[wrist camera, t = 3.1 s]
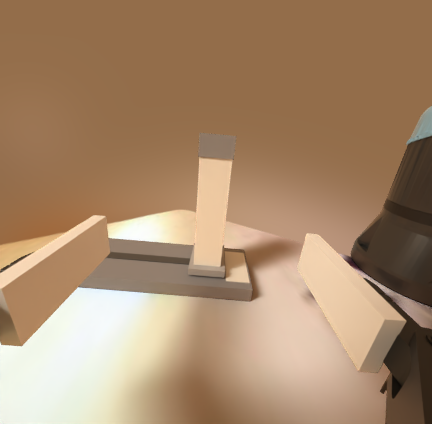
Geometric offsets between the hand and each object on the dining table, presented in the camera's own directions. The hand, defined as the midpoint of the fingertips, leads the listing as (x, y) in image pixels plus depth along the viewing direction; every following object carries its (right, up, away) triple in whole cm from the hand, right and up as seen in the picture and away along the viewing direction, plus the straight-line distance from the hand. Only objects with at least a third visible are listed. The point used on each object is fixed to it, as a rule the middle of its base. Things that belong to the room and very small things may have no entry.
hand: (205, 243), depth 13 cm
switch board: (-7, -5, +12) cm, 15 cm away
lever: (0, -4, +11) cm, 12 cm away
